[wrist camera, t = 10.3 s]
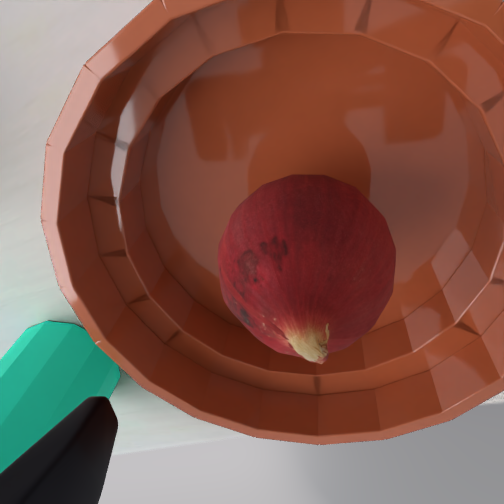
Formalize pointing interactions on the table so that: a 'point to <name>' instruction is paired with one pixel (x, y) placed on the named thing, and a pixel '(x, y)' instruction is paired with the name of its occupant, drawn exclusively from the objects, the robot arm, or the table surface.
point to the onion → (307, 265)
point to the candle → (48, 383)
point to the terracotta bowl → (275, 167)
